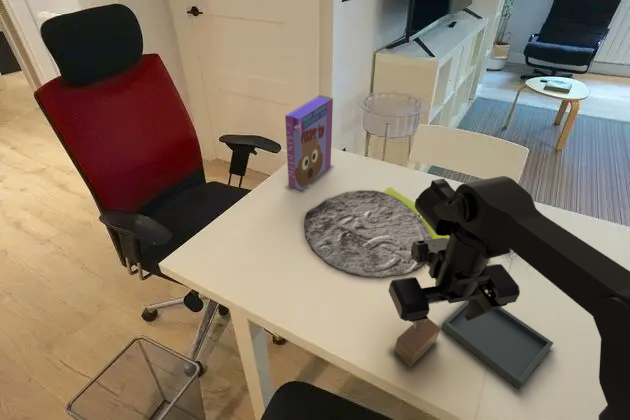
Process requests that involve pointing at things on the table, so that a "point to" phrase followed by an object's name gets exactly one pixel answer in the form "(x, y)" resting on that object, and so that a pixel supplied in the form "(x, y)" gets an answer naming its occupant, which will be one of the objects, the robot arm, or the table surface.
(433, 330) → the brown rectangular block
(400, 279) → the robot arm
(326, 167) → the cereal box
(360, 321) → the table surface
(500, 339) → the tray
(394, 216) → the ancient coin
